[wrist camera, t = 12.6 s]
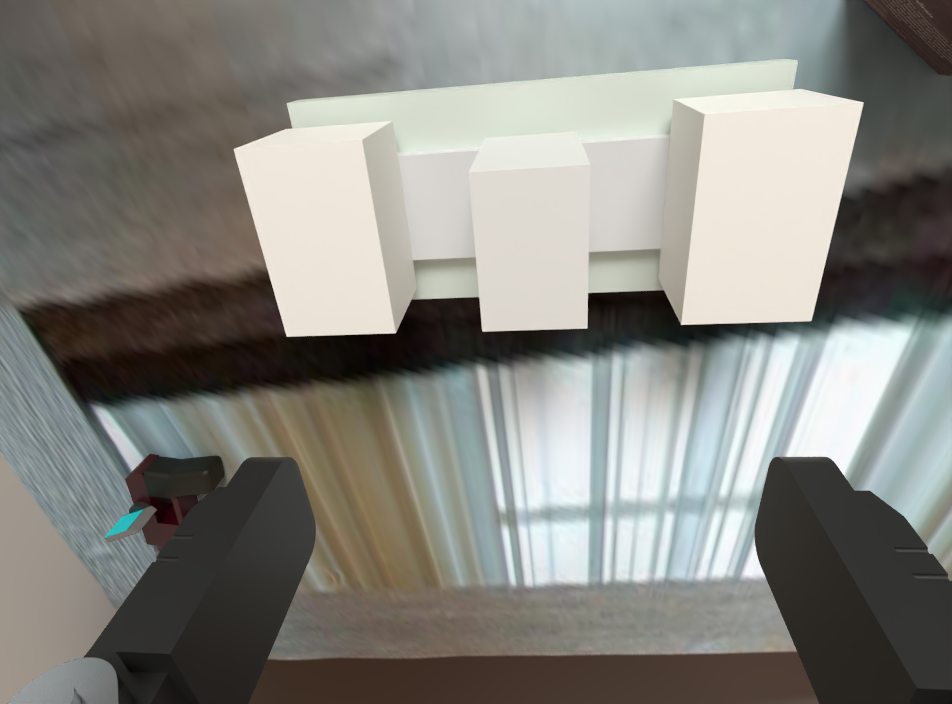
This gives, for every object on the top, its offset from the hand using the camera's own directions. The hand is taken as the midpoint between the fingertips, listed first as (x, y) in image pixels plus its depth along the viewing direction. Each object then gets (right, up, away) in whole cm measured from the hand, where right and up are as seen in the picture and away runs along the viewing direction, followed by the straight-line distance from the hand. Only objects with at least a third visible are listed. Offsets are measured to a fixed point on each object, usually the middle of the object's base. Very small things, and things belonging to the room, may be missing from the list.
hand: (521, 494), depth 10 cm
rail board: (+2, +11, +18) cm, 21 cm away
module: (+2, +9, +16) cm, 19 cm away
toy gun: (-21, -9, +33) cm, 40 cm away
